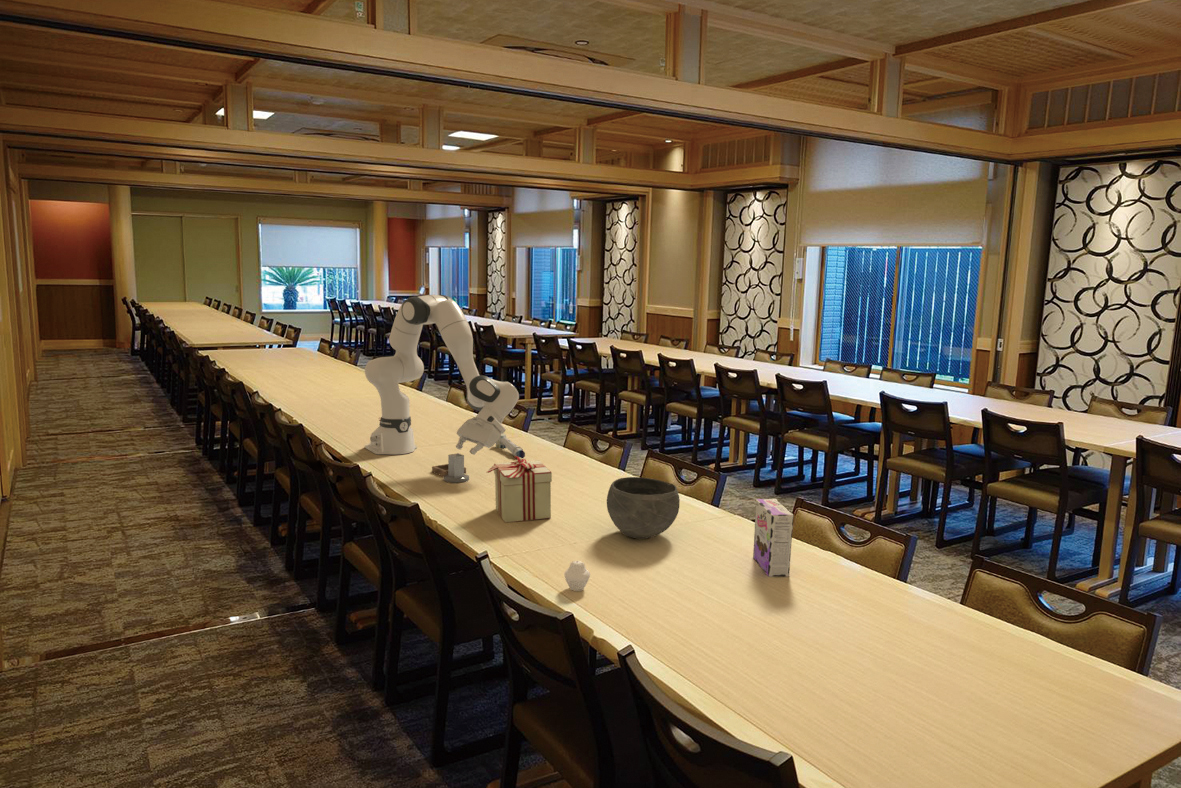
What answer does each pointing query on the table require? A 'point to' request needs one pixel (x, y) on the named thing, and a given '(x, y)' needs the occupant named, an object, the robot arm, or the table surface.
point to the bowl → (642, 506)
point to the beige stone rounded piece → (577, 576)
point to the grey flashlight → (510, 446)
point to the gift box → (522, 490)
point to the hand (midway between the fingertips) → (464, 450)
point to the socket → (442, 469)
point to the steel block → (456, 466)
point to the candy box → (773, 537)
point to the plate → (449, 479)
